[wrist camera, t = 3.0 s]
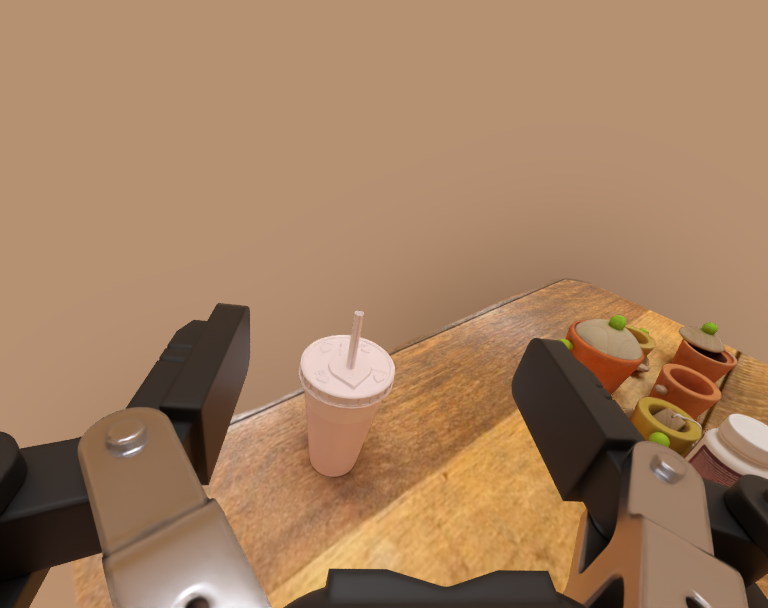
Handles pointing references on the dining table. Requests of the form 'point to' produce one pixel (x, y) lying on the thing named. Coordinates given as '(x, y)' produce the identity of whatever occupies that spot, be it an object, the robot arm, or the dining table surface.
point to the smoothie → (342, 396)
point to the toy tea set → (674, 384)
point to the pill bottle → (731, 450)
